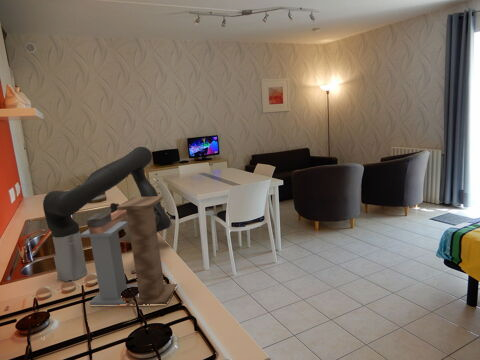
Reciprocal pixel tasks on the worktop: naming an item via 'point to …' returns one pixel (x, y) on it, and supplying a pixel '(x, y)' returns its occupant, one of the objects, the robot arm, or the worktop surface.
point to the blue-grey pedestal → (108, 266)
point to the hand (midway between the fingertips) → (123, 205)
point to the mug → (98, 198)
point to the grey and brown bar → (104, 221)
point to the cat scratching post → (146, 251)
